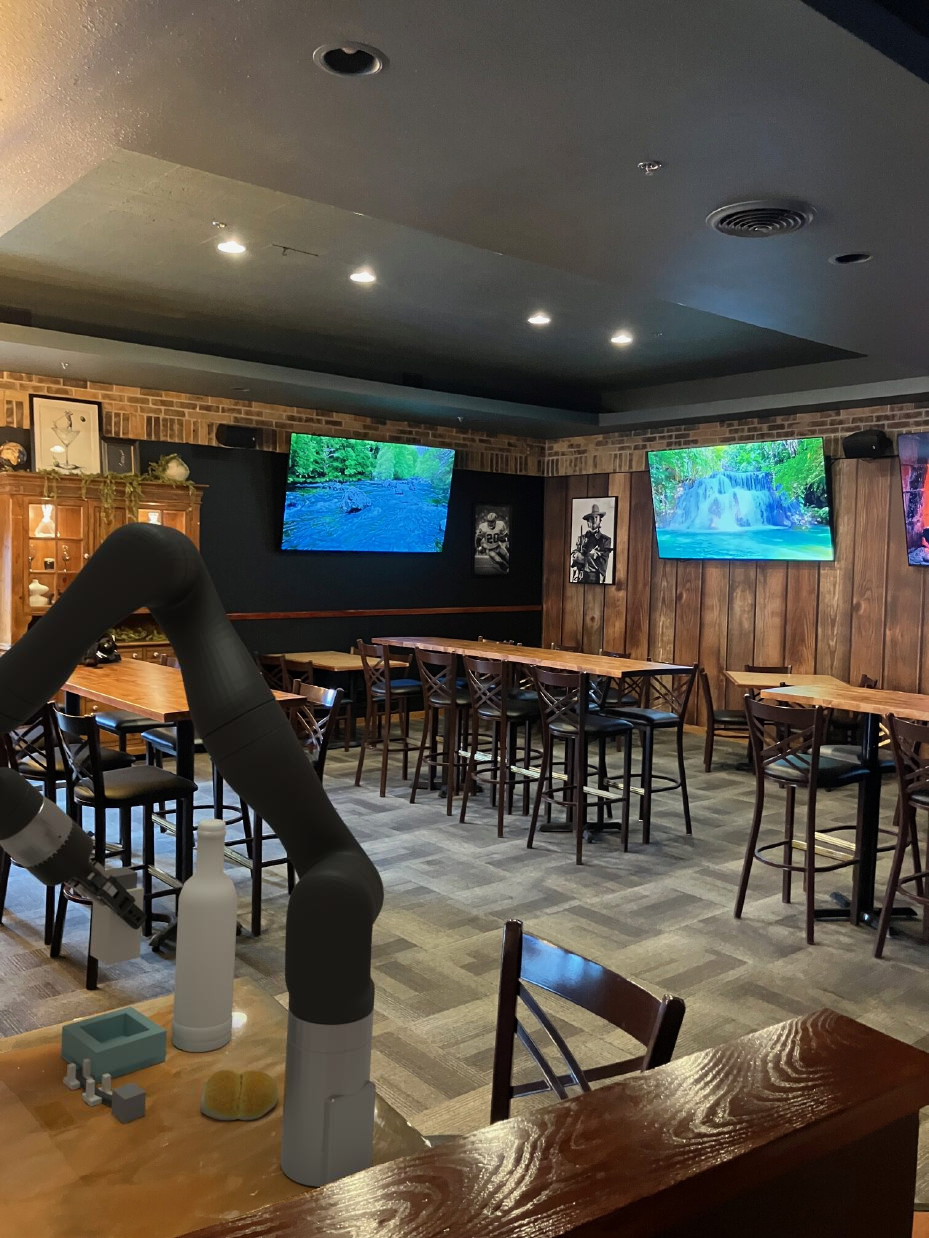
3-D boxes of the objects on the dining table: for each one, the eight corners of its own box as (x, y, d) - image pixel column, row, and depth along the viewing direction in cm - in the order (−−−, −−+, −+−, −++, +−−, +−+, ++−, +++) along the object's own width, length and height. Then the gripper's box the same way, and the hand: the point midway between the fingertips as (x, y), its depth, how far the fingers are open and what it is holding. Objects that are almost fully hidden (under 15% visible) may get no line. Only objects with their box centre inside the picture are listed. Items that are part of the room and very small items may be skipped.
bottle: (222, 1054, 130) (233, 830, 129) (163, 1051, 130) (174, 826, 129) (237, 1028, 138) (247, 816, 137) (181, 1024, 138) (191, 813, 137)
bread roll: (276, 1122, 115) (278, 1089, 115) (197, 1125, 113) (199, 1091, 113) (278, 1086, 123) (279, 1055, 123) (204, 1088, 121) (206, 1056, 121)
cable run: (144, 1115, 114) (145, 1091, 114) (114, 1126, 112) (115, 1102, 112) (89, 1070, 124) (90, 1048, 124) (60, 1079, 121) (61, 1057, 121)
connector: (139, 957, 127) (144, 872, 126) (107, 965, 123) (111, 878, 123) (122, 946, 130) (127, 864, 129) (90, 954, 126) (94, 870, 126)
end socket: (165, 1060, 127) (166, 1030, 127) (95, 1084, 121) (96, 1052, 120) (129, 1034, 134) (130, 1006, 134) (61, 1056, 127) (62, 1025, 127)
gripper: (94, 826, 116) (179, 908, 125) (41, 803, 125) (124, 880, 135) (47, 878, 112) (139, 958, 121) (-4, 850, 122) (85, 926, 131)
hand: (130, 917), depth 128 cm, fingers closed on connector, 4 cm apart
